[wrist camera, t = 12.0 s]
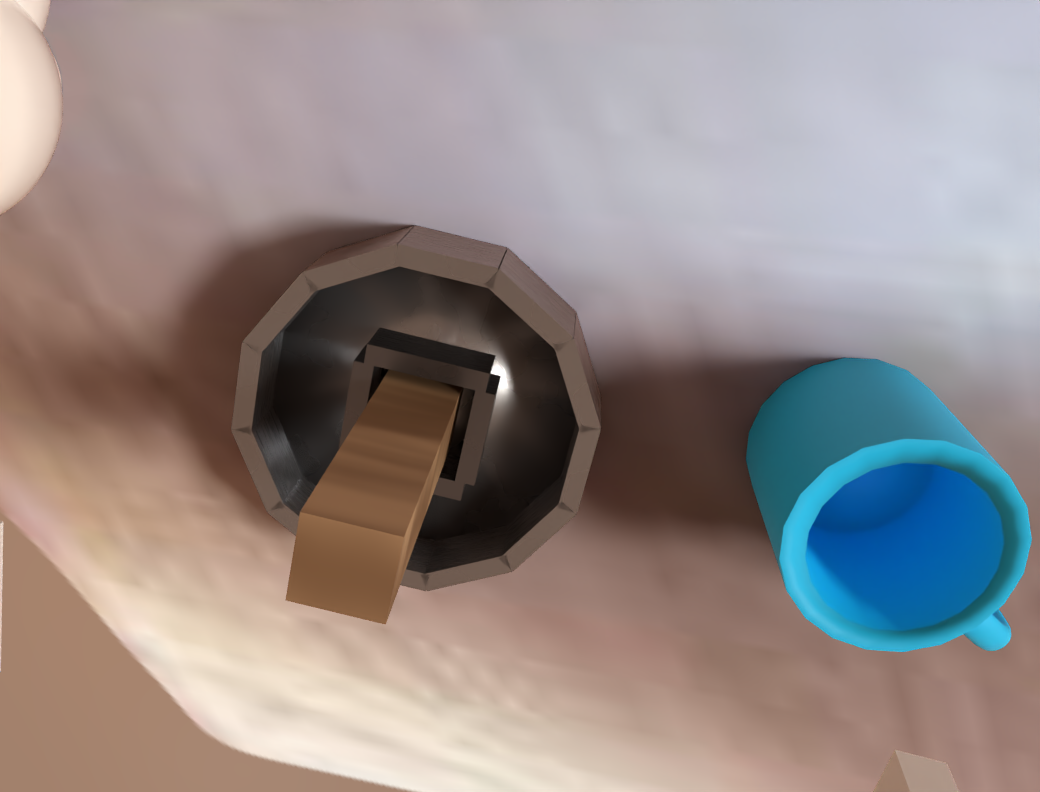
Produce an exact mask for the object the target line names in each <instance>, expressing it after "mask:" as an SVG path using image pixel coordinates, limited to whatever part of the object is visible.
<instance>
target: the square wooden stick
mask: <svg viewBox="0 0 1040 792" xmlns="http://www.w3.org/2000/svg"><path fill="white" fill-rule="evenodd" d="M463 388H464V387H460V386H455V385H451V384H447V383H443V382H439V381H435V380H431V379H427V378H422V377H418V376H414V375H410V374H406V373H402V372H398V371H394V370H388V372H387V374H386V375H385V377H384V378H383V380H382V382H381V383H380V385H379V386H378V388H377V390H376V391H375V393H374V394H373V396H372V398H371V399H370V401H369V402H368V404H367V406H366V407H365V409H364V410H363V412H362V414H361V415H360V417H359V418H358V420H357V422H356V423H355V425H354V426H353V428H352V430H351V431H350V433H349V434H348V436H347V438H346V439H345V441H344V442H343V444H342V446H341V447H340V449H339V450H338V452H337V454H336V455H335V457H334V458H333V460H332V462H331V463H330V465H329V466H328V468H327V470H326V471H325V473H324V474H323V476H322V478H321V479H320V481H319V482H318V484H317V486H316V487H315V489H314V490H313V492H312V494H311V495H310V497H309V498H308V500H307V502H306V503H305V505H304V506H303V508H302V510H301V511H300V515H299V521H298V527H297V533H296V540H295V546H294V552H293V558H292V564H291V570H290V577H289V583H288V589H287V595H286V600H287V601H291V602H295V603H299V604H303V605H307V606H312V607H316V608H320V609H324V610H328V611H332V612H336V613H341V614H345V615H349V616H353V617H357V618H361V619H365V620H369V621H374V622H378V623H382V624H386V622H387V619H388V616H389V614H390V611H391V608H392V605H393V603H394V600H395V597H396V594H397V592H398V589H399V586H400V583H401V581H402V578H403V575H404V572H405V570H406V567H407V564H408V561H409V559H410V556H411V553H412V550H413V548H414V545H415V542H416V539H417V537H418V534H419V531H420V528H421V526H422V523H423V520H424V517H425V515H426V512H427V509H428V506H429V504H430V501H431V498H432V495H433V493H434V490H435V487H436V484H437V482H438V479H439V476H440V473H441V471H442V468H443V465H444V462H445V460H446V457H447V454H448V451H449V449H450V446H451V442H452V438H453V433H454V429H455V424H456V420H457V415H458V411H459V406H460V402H461V397H462V393H463Z"/></svg>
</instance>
